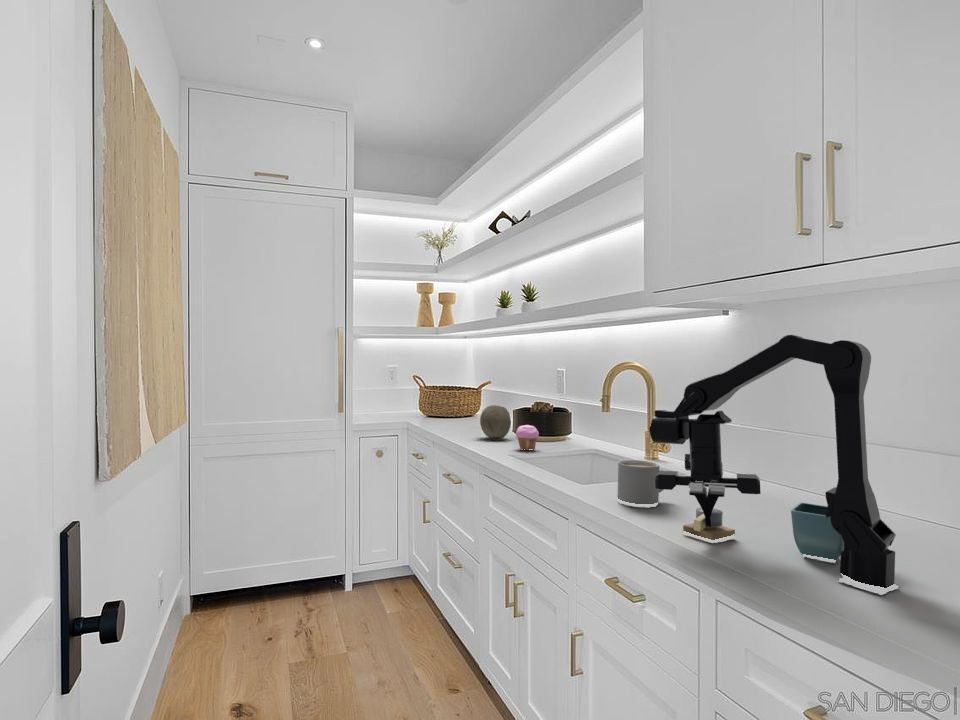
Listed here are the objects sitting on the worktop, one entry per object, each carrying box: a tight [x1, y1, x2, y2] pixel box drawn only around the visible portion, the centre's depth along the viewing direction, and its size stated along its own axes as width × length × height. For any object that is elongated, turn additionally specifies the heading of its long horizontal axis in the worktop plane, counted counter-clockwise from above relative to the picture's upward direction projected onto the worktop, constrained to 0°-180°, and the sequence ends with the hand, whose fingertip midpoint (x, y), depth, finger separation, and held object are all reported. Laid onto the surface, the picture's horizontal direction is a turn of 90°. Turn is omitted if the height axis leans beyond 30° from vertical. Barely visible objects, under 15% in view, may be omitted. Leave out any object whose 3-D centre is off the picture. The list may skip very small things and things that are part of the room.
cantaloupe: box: [479, 405, 512, 441], centre depth 252 cm, size 14×14×15 cm
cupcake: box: [515, 424, 540, 451], centre depth 224 cm, size 9×9×10 cm
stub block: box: [682, 522, 736, 540], centre depth 117 cm, size 7×7×3 cm
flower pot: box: [790, 502, 844, 561], centre depth 106 cm, size 9×9×9 cm
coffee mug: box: [616, 459, 665, 504], centre depth 144 cm, size 13×10×10 cm
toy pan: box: [693, 507, 723, 531], centre depth 114 cm, size 11×5×2 cm, turn 144°
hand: (708, 526), depth 111 cm, fingers closed
